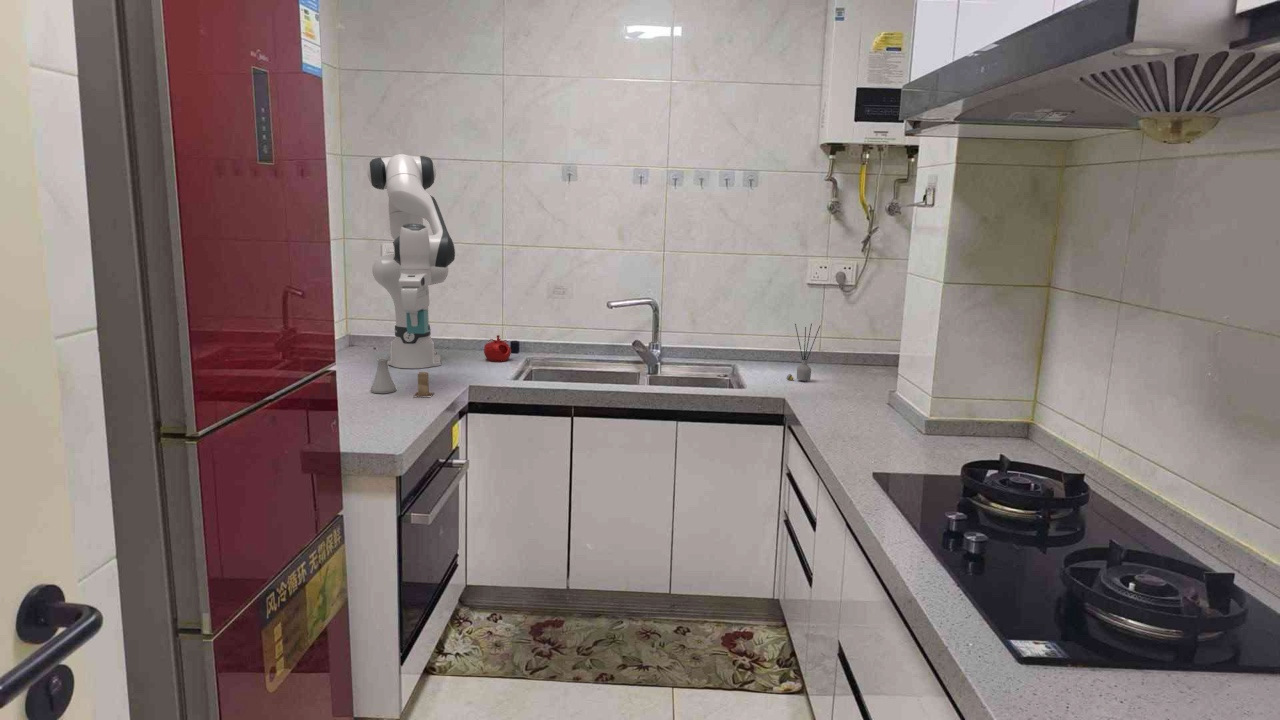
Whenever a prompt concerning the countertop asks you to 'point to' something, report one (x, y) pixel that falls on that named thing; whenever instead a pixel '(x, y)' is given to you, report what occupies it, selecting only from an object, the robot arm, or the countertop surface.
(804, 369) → the reed diffuser
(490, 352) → the hollow red tomato
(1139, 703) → the countertop surface
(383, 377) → the flask
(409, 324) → the teal upright block
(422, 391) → the post
